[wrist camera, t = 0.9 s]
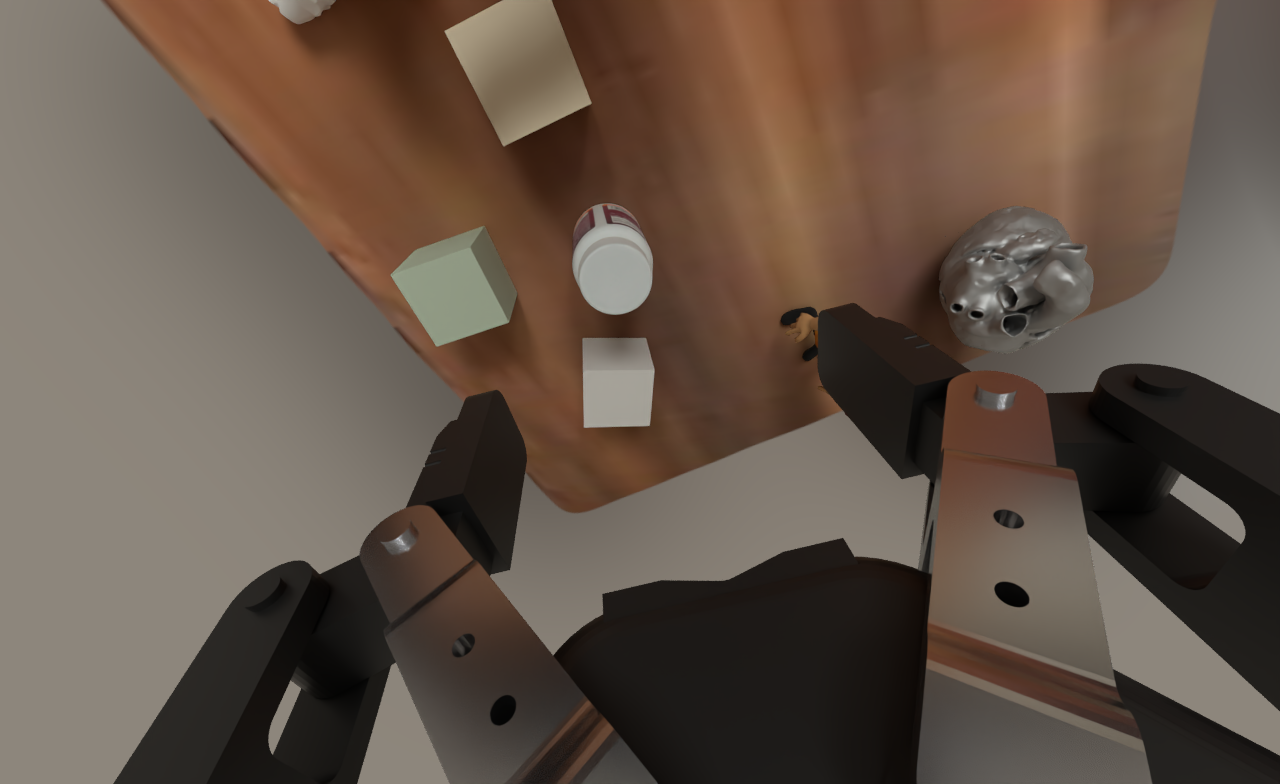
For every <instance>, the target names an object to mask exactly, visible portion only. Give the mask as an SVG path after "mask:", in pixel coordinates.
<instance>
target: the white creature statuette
mask: <svg viewBox="0 0 1280 784" xmlns="http://www.w3.org/2000/svg"><path fill="white" fill-rule="evenodd" d="M269 1H270V2H271V3H272V4H274V5H275V6H277V7H279V10H280V13H281V14H282V15H284V16H285V17H286V18H287V19H289V20H290V21H292V22H294V23H296V24H302V23H305V22H308V21H310V20H312V19H314V18H315V17H318V16H321V13H322V11H323V10H327V9H330V8H331V6H330V5H332V4H333V3H334V2H335V1H336V0H269Z"/></svg>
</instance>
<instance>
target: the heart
mask: <svg viewBox="0 0 1280 784" xmlns="http://www.w3.org/2000/svg"><path fill="white" fill-rule="evenodd" d="M958 233H959V232H958ZM945 237H946V236H945ZM1086 253H1087V245H1085V244H1077V243H1072V241H1071V240H1070V238H1069V234H1068V233H1067V231H1066V230H1065V229H1064V227H1063V225H1062V224H1061V223H1060V222H1059V221H1058V220H1057V219H1056V218H1053V217H1052V216H1050V215H1048V214H1046V213H1044V212H1041V211H1037V210H1035V209H1033V208H1029V207H1020V206H1012V207H1008V208H1003V209H1000V210H997V211H995V212H992V213H990V214H989V215H987V216H986V217H984V218H983V219H981V220H979V221H978V222H977V223H976V224H975V225H974V226H972V227H971V228H970V229H968V230H967V231H966V232H965V233H964V234H963V235H962V236H961V237H960V238H959V239H958V241H957V242H956V243H955V244H954V246H953V247H952V249H951V251H950V253H949V255H948V256H947V257H946V258H945V257H944V258H945V260H944V261H943V263H942V266H941V269H940V272H939V280H940V281H941V283H940V287H939V296H940V301H941V303H942V306H943V308H944V310H945V312H946V313H947V315H948V320H949V323H950V327H951V329H952V331H953V332H954V334H955V335H956V336H957V338H958V339H959V340H960V341H961V342H962V343H963V344H964V345H967V346H969V347H974V348H978V349H982V350H985V351H993V352H998V353H1004V354H1006V353H1012V352H1016V351H1017V350H1018V349H1024V348H1027V347H1030V346H1032V345H1034V344H1036V343H1038V342H1040V341H1042V340H1044V339H1046V338H1047V337H1048V336H1050V335H1051V334H1053V333H1054V332H1056V331H1057V330H1058V329H1060V328H1061V327H1062V326H1063V325H1064V324H1065V323H1067V322H1069V321H1070V320H1072V319H1073V318H1075V317H1076V316H1077V315H1079V314H1081V313H1082V312H1083V311H1084V310H1085V309H1086V308H1087V307H1088V305H1089V303H1090V294H1091V293H1092V289H1093V282H1094V278H1093V272H1092V269H1091V267H1090V266H1089V265H1088V264H1087V263H1086V262H1085V261H1084V258H1085V256H1086Z"/></svg>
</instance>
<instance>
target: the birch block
mask: <svg viewBox="0 0 1280 784" xmlns="http://www.w3.org/2000/svg"><path fill="white" fill-rule="evenodd" d="M445 33H446V35H447V37H448V39H449V41H450V43H451V45H452V47H453V49H454V51H455V53H456V55H457V57H458V59H459V61H460V63H461V65H462V67H463V68H464V70H465V72H466V74H467V76H468V78H469V80H470V82H471V84H472V86H473V88H474V90H475V92H476V94H477V96H478V98H479V100H480V102H481V104H482V106H483V108H484V109H485V111H486V113H487V115H488V117H489V119H490V121H491V123H492V125H493V127H494V129H495V131H496V133H497V135H498V137H499V139H500V141H501V143H502V145H503V146H506V145H508V144H510V143H512V142H514V141H516V140H518V139H520V138H522V137H524V136H526V135H528V134H530V133H532V132H534V131H536V130H538V129H540V128H542V127H544V126H547V125H549V124H551V123H553V122H555V121H557V120H559V119H561V118H563V117H565V116H567V115H569V114H571V113H573V112H575V111H577V110H579V109H581V108H583V107H585V106H588V105H590V104H592V103H591V100H590V98H589V95H588V93H587V90H586V87H585V85H584V82H583V80H582V77H581V75H580V72H579V69H578V67H577V64H576V62H575V59H574V57H573V54H572V51H571V49H570V46H569V44H568V41H567V39H566V36H565V34H564V31H563V28H562V26H561V23H560V21H559V18H558V16H557V13H556V10H555V8H554V5H553V3H552V0H502V1H500V2H498V3H497V4H495V5H493V6H491V7H489V8H487V9H485V10H483V11H481V12H480V13H478V14H476V15H474V16H472V17H470V18H468V19H466V20H465V21H463V22H461V23H459V24H457V25H455V26H453V27H451V28H450V29H448V30H446V31H445Z"/></svg>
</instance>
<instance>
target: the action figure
mask: <svg viewBox="0 0 1280 784" xmlns="http://www.w3.org/2000/svg"><path fill="white" fill-rule="evenodd" d="M781 322H782V324H783V325H790V327H791V328H792V329H791V330H789V331H787V332H786V333H785V334H786V335H790V334H793V333H800V335H799V336H797V337H796V338H795V342H797V343H798V342H800V341H802V340H803V339H805V337H806V336H807V335H808V334H809V333H810V332H811V331H812V330H813V332H814V335H815V345H814V346H813V347H811V348H810V349H808V350H807V351H805V353H804V354H803V359H804V360H805V361H809V360H811V359H812V358H814V357H815V356H816V355H817V354H818V315H817V312H816V310H815V309H814V308H812V307H806V308H801V309H795V310H791V311H789V312H787V313H786V314H784V315H783V316H782V318H781ZM796 322H797V323H796ZM818 389H819V390H821V391H824V392H826V393H827V394H828V392H827V391H826V390H825V389H824V387H822V386H818ZM845 414H846V413H845Z"/></svg>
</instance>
